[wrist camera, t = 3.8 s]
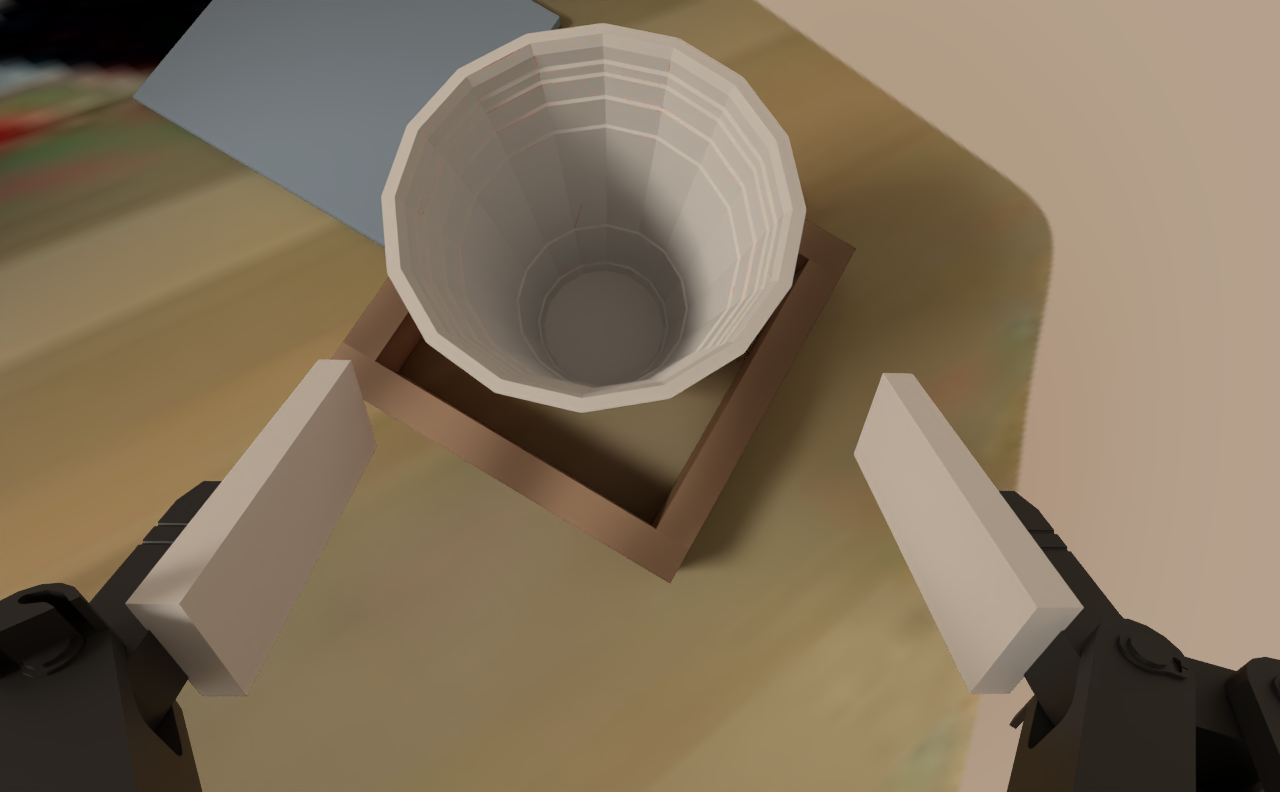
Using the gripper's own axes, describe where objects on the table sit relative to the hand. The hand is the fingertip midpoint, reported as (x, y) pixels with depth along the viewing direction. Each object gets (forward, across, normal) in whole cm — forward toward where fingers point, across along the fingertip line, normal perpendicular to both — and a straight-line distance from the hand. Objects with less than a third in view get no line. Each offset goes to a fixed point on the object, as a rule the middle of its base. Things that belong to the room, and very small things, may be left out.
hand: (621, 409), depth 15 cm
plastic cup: (+11, -1, -4) cm, 12 cm away
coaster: (+20, -13, +5) cm, 24 cm away
